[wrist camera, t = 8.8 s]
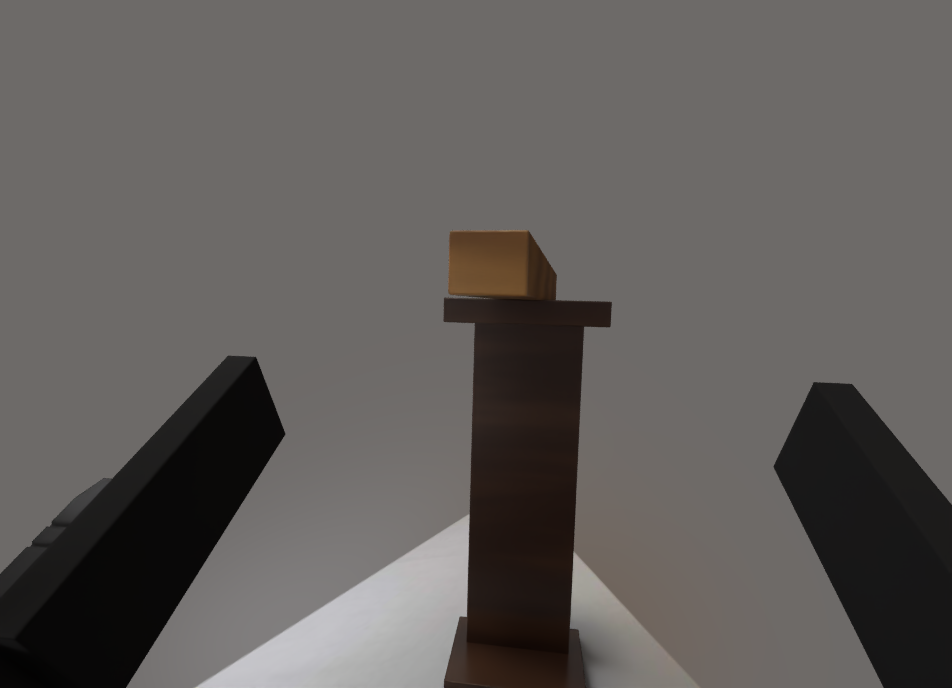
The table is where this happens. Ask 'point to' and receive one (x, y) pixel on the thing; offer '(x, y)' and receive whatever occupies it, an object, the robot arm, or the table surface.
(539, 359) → the shelf stand
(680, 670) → the table surface
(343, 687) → the table surface
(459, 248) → the bar
